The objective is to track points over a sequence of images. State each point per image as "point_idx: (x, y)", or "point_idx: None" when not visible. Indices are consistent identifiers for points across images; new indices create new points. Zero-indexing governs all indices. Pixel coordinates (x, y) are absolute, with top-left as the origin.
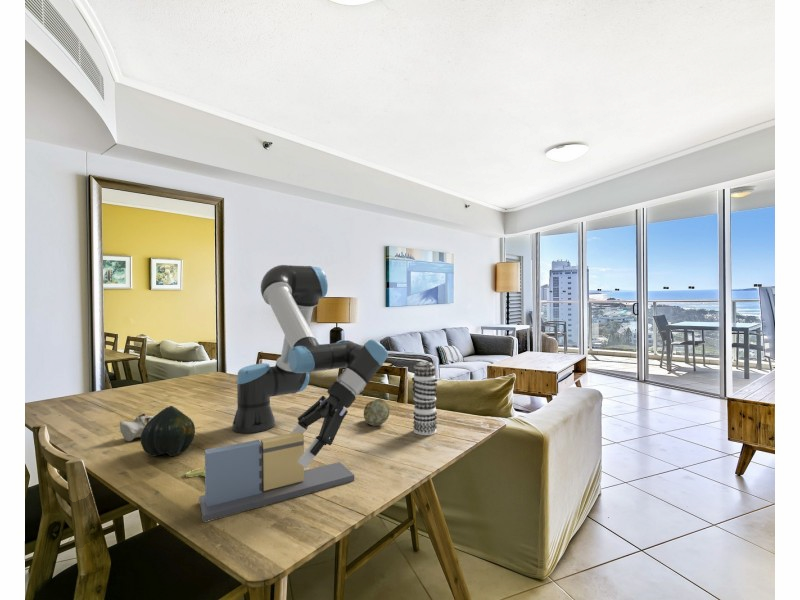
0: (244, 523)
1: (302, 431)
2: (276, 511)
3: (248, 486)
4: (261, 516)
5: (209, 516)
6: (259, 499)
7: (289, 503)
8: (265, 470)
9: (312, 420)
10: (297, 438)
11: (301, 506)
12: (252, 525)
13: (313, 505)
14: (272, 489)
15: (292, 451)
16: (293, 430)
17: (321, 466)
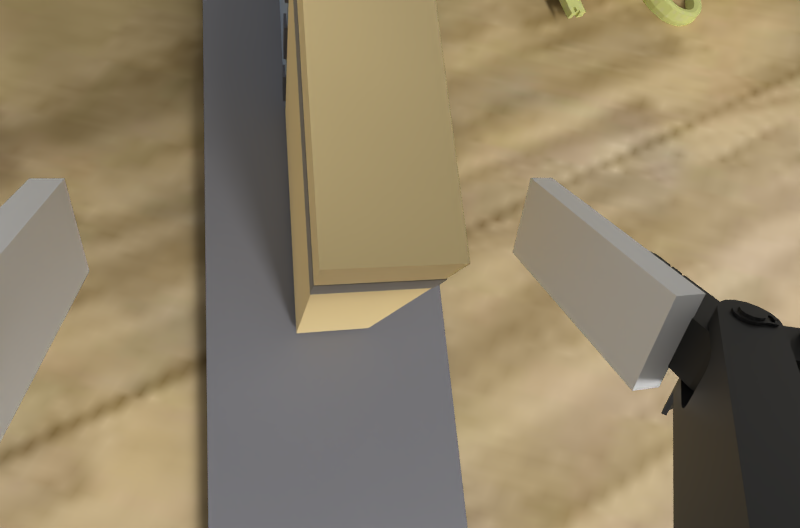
0: (91, 11)
1: (619, 350)
2: (112, 150)
3: (282, 14)
4: (108, 83)
5: None
6: (214, 80)
7: (157, 224)
8: (288, 52)
9: (690, 489)
10: (312, 199)
11: None
12: (47, 33)
13: None
14: None
15: (302, 193)
16: (628, 247)
17: (459, 491)
